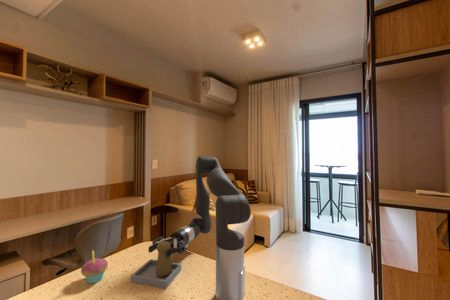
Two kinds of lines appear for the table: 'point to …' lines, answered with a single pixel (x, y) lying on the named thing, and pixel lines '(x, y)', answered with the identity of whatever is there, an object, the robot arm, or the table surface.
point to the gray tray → (154, 275)
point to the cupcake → (94, 269)
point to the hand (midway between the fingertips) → (157, 252)
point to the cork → (163, 259)
